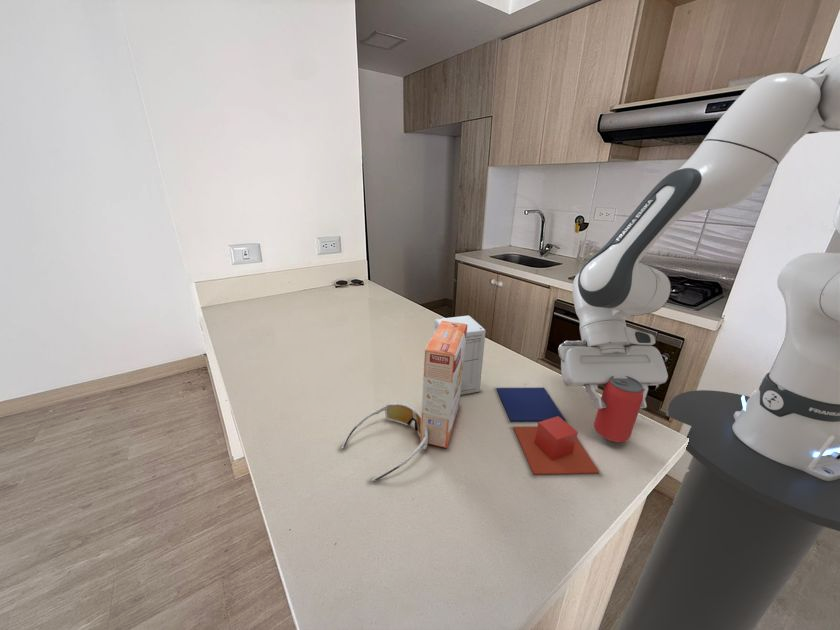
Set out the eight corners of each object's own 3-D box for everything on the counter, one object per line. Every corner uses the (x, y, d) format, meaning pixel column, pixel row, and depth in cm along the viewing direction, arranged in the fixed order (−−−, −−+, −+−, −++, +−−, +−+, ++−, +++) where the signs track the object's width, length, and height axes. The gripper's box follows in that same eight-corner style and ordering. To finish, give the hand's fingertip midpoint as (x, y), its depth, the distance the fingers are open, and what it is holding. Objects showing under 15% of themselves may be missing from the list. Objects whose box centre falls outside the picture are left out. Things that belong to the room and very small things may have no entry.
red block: (553, 435, 69) (558, 415, 67) (572, 453, 65) (578, 432, 63) (534, 442, 67) (538, 421, 65) (552, 460, 63) (557, 439, 61)
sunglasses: (442, 444, 66) (441, 426, 64) (381, 497, 58) (377, 478, 55) (396, 409, 76) (393, 392, 74) (337, 450, 67) (332, 432, 65)
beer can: (591, 418, 73) (604, 370, 69) (625, 425, 71) (641, 376, 67) (595, 439, 67) (610, 388, 63) (633, 447, 66) (651, 395, 61)
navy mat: (543, 389, 85) (544, 387, 85) (564, 421, 74) (565, 419, 74) (496, 389, 84) (496, 387, 84) (510, 421, 73) (510, 420, 73)
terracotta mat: (568, 427, 72) (569, 426, 72) (599, 473, 61) (599, 472, 61) (513, 428, 72) (513, 426, 71) (533, 474, 60) (533, 473, 60)
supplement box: (464, 372, 91) (470, 314, 85) (480, 392, 83) (487, 329, 77) (431, 377, 88) (433, 318, 82) (444, 398, 80) (448, 334, 74)
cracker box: (449, 450, 65) (456, 354, 57) (418, 443, 67) (422, 348, 59) (461, 406, 78) (468, 322, 70) (435, 401, 79) (440, 318, 71)
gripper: (563, 336, 68) (576, 407, 63) (661, 335, 69) (683, 405, 64) (550, 345, 74) (562, 411, 69) (641, 344, 75) (660, 409, 70)
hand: (621, 408), depth 66 cm, fingers closed on beer can, 6 cm apart
